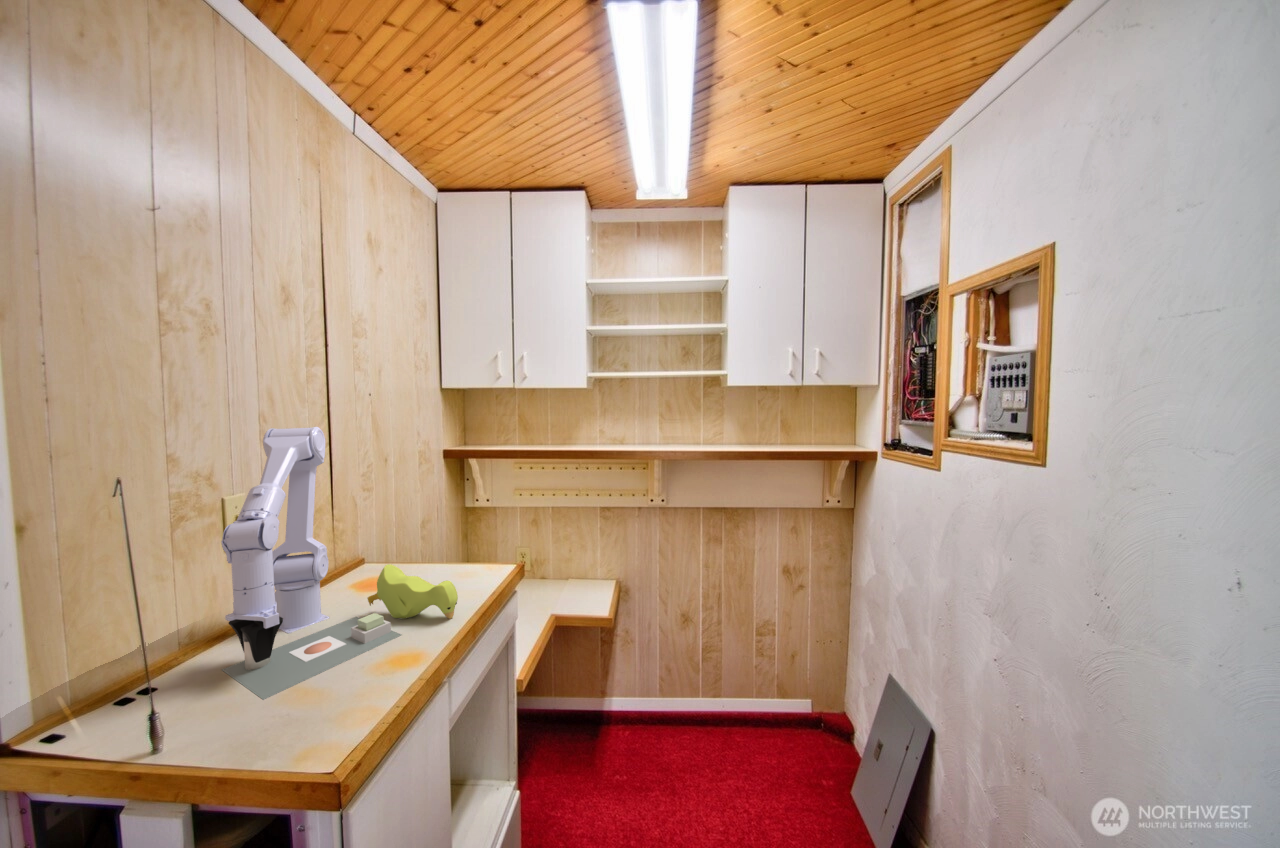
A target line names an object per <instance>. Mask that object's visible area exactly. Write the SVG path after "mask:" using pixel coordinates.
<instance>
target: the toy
mask: <svg viewBox="0 0 1280 848" xmlns="http://www.w3.org/2000/svg"><path fill="white" fill-rule="evenodd" d="M376 588H377V591H376V593H374V594H372V595H369V596H368V597H367V602H368V604H369V606H370V607H372V605H374V601H377V600H379V602H381V601H382V602H383V604H384V606H385V607H386V609H387V611H388V612H389V614H390V615H391V617H392V618H393V619H398V618H402V619H408V618H412V617H416V616H417V615H419V614H420V613H421V612H423V611H425V610H426V609H427V608H428V607H431V606H436V607H437V608H439V610H440V611H441V612H442V614H443V615H444V616H445V618H447V619H453V618H454V615H455V609H456V608H455V607H456V605H457V604H458V603H457V602H458V597H459V596H458V592H457V588H456V586H455V585H454V583H453V582H452V581H451V580H443V581H441V582H440V583H438V584H436V585H435V584H432V583H430V582H428V581H426V580H425V579H423V578H422V577H420V576H418V575H417V576H416V575H406V574H405V573H404V571H403V570H402V569H401V568H399V567H398V566H396V565H394V564H390V563H389V564H388V563H387V564H386V565H385V566H384V567H382V570H381V572H380V573H379V576H378V578H377V581H376Z"/></svg>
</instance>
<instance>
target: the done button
mask: <svg viewBox="0 0 1280 848" xmlns="http://www.w3.org/2000/svg"><path fill="white" fill-rule="evenodd" d="M384 620H385V619H384V615H381V614H378V613H376V612H373V613H372V614H369V615H366V616H363V617H361V619H358V629H361V630H363V631H369V630H371V629H373V628H376V627H378V626H380V625H383V624H384Z"/></svg>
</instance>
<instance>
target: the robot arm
mask: <svg viewBox="0 0 1280 848" xmlns="http://www.w3.org/2000/svg"><path fill="white" fill-rule="evenodd" d="M262 445H263V449H264V453H265V455H266V461H265V465H264V469H263V471H262V474H261V478H260V481H259V485H256V486H253V487H251V488H249V491H248V493H247V495H246V498H245V500H244V502H243V504H242V507H241V510H240V512H239V514H238V516H237V518H236V520H235V521H233V523H231V524H228V525H227V526H226V527H225V529H224V530H223V532H222V539H221V542H220V543H221V547H222V550H223V552H225V556H226V562H227V563H228V564H230V566H231V580H232V582H231V583H232V584H231V585H232V596H233V599H232V600H233V602H232V605H233V611H232V613H228V614H225V618H224V619H225V621H228V625H229V626H230V628H232V629H233V630H234V632H235V634H236V635H237V637H238V640H239V643H240V645H241V648H242V652H244V641H243V633H244V634H245V636H246V637H247V639H248V641H249V644H250V647H251V652H252V656H253V659H254V661H255V662H256V663H257V662H260V661H262V660H265V659H267V658H270V656H271V653H272V650H273V649H274V648H273V647H274V644H275V643H274V642H275V640H276V636H277V633H278V631H279V630H280V631H282V632H284V633H286V634H291V633H294V632H297V631H299V630H301V629H305V628H307V627H310V626H312V625H315V624H317V623H321V622H323V621H325V620H326V621H327V620H328V619H330V616H328V615H326V614H323V613H322V602H321V581H322V580H323V579H324V578H325V577H326V576H327V574H328V570H329V557H328V547H327V546H326V545H325V544H324V543H323V542H321V541H319V540H317V539H315V538H314V537H313V535H314V516H315V515H314V514H315V499H316V498H315V497H316V496H315V494H316V477H317V468H318V467H319V466H320V465H322V464H324V463H325V458H326V457H325V456H326V437H325V434H324V432H323V430H322V429H321V428H320V427H319V426H313V427H293V428H292V427H291V428H274V427H273V428H272V427H271V428H268V429H267V431H266V432H265V433H264V435H263V439H262ZM287 479H288V491H287V493H288V494H287V496H286V492H285V491H284V489H282V488H283V487H284V485H285V482H286V480H287ZM286 497H287V509H286V510H287V511H286V521H285V522H286V525H285V539H284V542H283V543H282V544H280V545H279V546H278V547H276V548H275V549H273V548H274V547H275V546H276V544H277V542H278V539H279V534H280V533H279V529H280V524H281V523H280V522H281V521H280V520H279V516H280V513H281V510H282V507H283V505H284V502H285V500H286V499H285V498H286ZM305 552H306V553H305ZM297 553H302V554H297ZM303 553H304V554H303ZM290 554H294V555H290Z"/></svg>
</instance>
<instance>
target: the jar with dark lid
mask: <svg viewBox="0 0 1280 848" xmlns="http://www.w3.org/2000/svg"><path fill="white" fill-rule="evenodd" d="M243 641H244V651H243V653H244V661H245V669H247V670H253V669H257V668H260V667H263V666H265V665H267V664H268V663H270V662H271V656H270V658H267V659H265V660H262V661H260V662H257V663H256V662H255V661H254V659H253V656H252V652H251V647H250V644H249V641H248V639H247V637H246V636H245V634H244V633H243Z"/></svg>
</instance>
